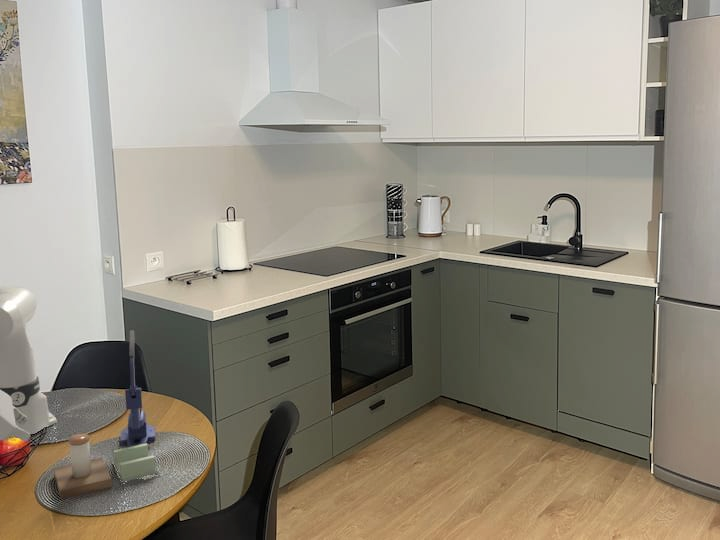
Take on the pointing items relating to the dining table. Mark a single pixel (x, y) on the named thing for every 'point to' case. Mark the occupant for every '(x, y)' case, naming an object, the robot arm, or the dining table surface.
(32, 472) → the dining table surface
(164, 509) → the dining table surface
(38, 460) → the dining table surface
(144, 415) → the hand press
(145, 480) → the mat
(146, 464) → the rack
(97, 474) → the board
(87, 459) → the mushroom
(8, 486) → the dining table surface
